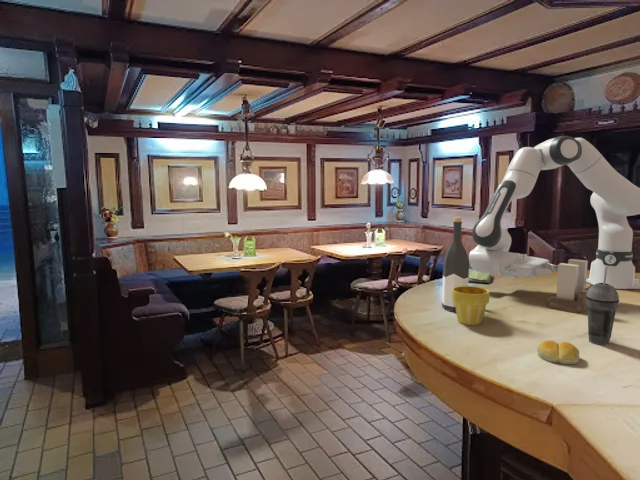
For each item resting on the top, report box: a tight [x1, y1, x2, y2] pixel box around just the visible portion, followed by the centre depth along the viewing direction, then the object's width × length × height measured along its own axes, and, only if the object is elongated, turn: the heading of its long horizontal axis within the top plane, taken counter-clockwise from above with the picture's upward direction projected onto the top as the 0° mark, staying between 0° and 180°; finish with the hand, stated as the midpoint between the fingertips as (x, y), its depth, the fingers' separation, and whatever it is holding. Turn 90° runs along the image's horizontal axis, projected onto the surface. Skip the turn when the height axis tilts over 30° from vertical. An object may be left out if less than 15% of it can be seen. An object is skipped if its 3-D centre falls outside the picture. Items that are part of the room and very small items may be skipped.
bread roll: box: [536, 340, 580, 365], centre depth 106 cm, size 8×9×4 cm
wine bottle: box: [441, 216, 470, 312], centre depth 145 cm, size 8×8×30 cm
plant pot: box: [452, 285, 490, 326], centre depth 133 cm, size 10×10×10 cm
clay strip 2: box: [567, 258, 589, 293], centre depth 148 cm, size 3×5×14 cm, turn 46°
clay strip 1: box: [555, 262, 579, 301], centre depth 140 cm, size 3×5×14 cm, turn 46°
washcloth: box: [468, 268, 492, 284], centre depth 191 cm, size 13×18×3 cm
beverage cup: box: [586, 267, 620, 346], centre depth 115 cm, size 7×7×20 cm
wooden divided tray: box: [545, 284, 593, 315], centre depth 145 cm, size 16×10×8 cm, turn 136°
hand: (555, 270), depth 152 cm, fingers open, 8 cm apart
